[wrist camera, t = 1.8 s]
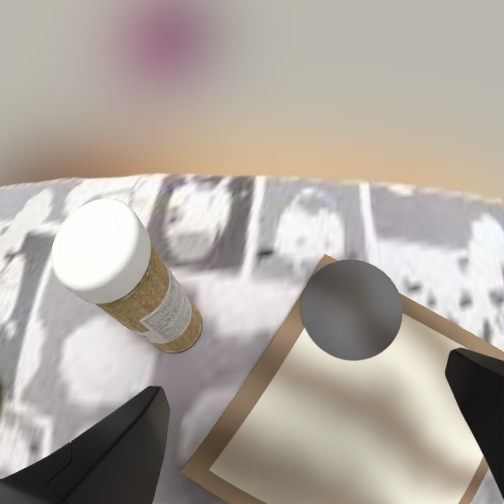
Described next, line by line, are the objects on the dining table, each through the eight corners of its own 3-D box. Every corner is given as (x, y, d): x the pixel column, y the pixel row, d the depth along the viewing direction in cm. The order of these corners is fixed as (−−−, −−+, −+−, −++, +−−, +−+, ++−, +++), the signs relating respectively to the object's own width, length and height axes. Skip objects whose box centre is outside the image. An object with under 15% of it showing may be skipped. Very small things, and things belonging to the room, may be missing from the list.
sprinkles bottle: (138, 327, 24) (34, 245, 12) (176, 288, 25) (102, 179, 13) (176, 366, 22) (76, 311, 10) (216, 323, 23) (158, 227, 12)
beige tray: (418, 566, 11) (423, 571, 10) (183, 469, 18) (179, 472, 17) (520, 357, 19) (528, 354, 18) (328, 250, 26) (330, 243, 25)
